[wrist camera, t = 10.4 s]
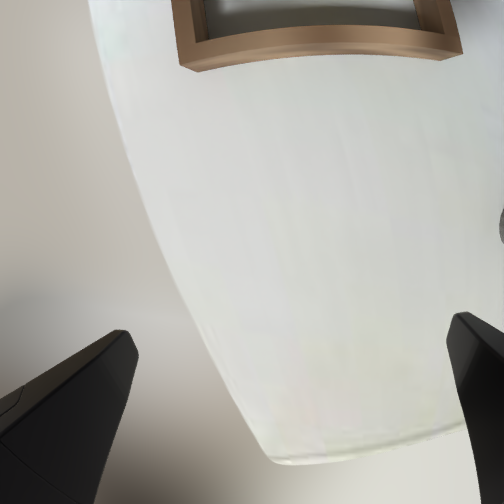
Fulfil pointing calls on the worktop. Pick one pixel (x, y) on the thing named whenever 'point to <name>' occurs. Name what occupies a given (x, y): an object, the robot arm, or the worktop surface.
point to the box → (314, 38)
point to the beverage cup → (502, 227)
